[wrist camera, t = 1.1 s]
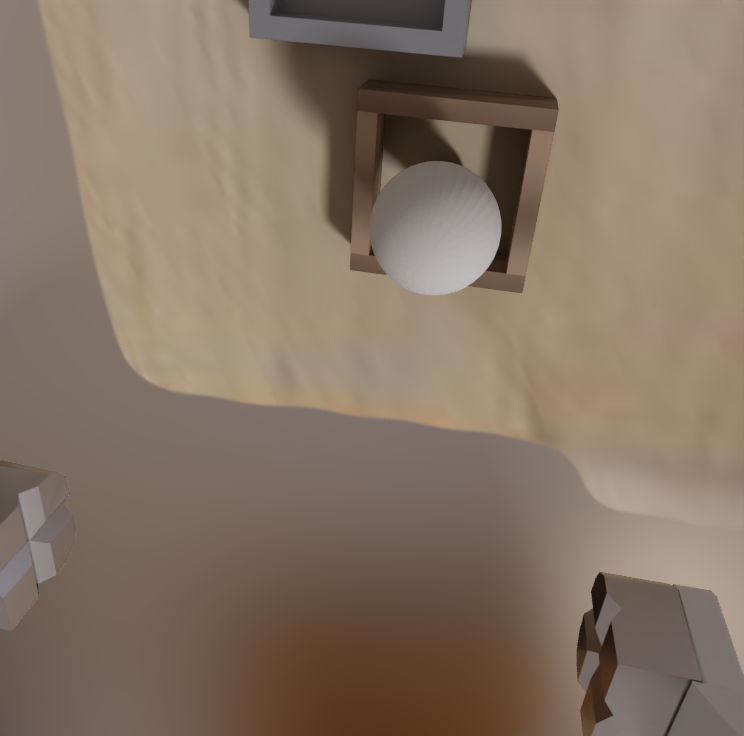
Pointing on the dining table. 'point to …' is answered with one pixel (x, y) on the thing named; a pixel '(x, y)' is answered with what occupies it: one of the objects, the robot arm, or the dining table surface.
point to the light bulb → (435, 228)
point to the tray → (366, 24)
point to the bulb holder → (458, 108)
